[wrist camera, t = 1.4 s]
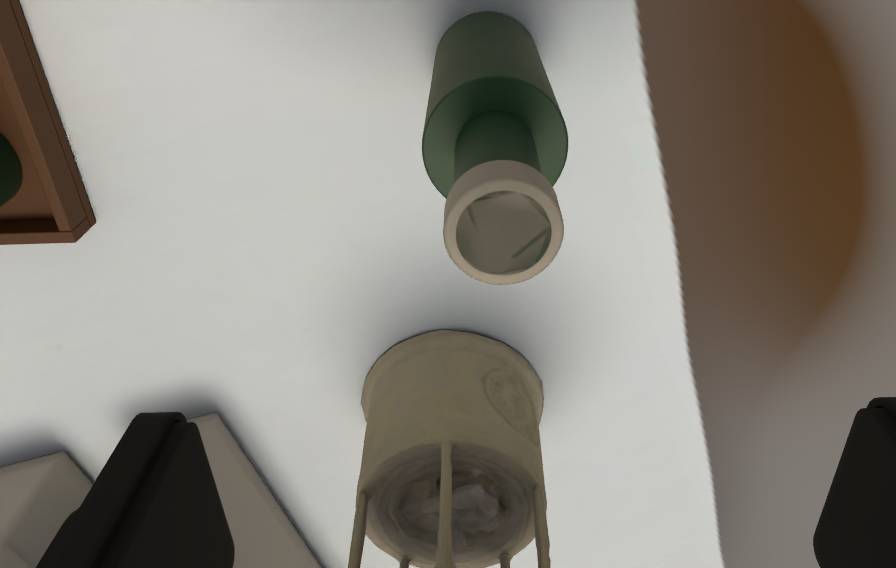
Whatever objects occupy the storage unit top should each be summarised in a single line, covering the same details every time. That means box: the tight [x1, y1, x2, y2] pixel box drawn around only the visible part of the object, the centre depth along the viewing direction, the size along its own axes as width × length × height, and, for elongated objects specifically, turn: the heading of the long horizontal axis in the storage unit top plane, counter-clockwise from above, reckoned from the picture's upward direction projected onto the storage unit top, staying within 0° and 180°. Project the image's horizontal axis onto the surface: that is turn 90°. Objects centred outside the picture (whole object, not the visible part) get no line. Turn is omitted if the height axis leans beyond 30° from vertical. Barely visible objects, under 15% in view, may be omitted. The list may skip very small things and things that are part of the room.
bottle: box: [422, 11, 568, 285], centre depth 22 cm, size 4×4×16 cm
